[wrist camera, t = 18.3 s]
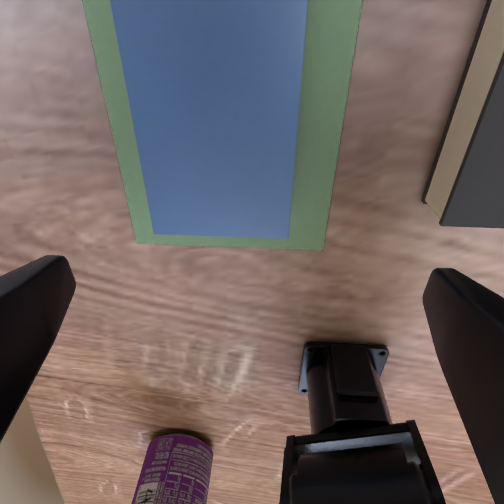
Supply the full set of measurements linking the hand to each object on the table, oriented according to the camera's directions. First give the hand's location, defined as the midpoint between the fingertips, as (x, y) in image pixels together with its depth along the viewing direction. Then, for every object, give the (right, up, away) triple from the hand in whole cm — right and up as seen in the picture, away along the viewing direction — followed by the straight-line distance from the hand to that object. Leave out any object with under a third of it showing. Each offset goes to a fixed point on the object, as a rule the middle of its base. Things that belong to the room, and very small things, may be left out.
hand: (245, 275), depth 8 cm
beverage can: (-8, -21, +29) cm, 37 cm away
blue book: (-1, +7, +9) cm, 12 cm away
